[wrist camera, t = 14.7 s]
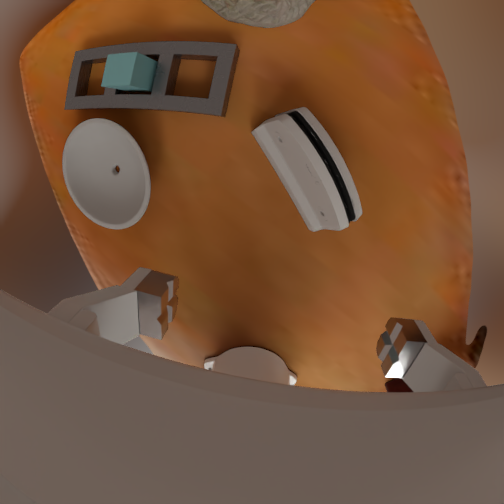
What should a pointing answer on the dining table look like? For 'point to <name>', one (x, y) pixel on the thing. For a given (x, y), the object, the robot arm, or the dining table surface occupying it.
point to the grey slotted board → (157, 77)
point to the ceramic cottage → (260, 11)
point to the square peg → (129, 72)
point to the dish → (106, 173)
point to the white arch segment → (310, 169)
